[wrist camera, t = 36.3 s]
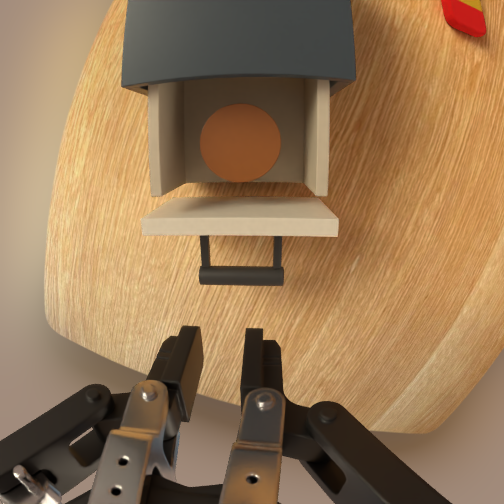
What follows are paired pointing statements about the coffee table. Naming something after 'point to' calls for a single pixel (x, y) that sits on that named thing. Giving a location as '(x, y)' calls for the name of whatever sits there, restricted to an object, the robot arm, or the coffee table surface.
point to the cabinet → (237, 41)
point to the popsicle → (465, 16)
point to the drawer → (231, 207)
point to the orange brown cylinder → (240, 142)
